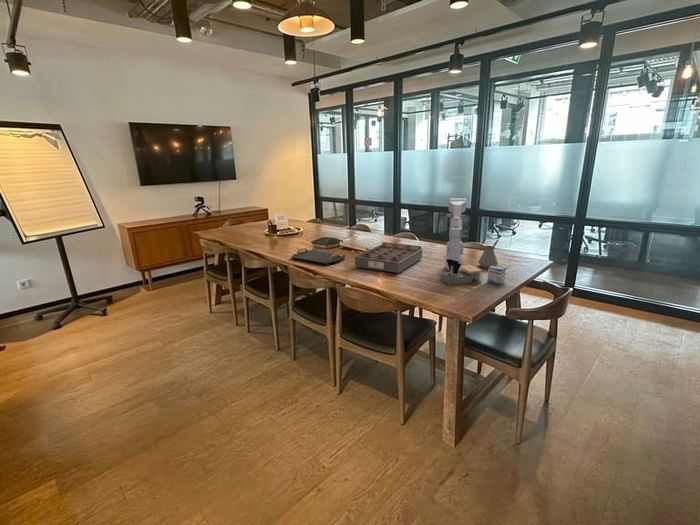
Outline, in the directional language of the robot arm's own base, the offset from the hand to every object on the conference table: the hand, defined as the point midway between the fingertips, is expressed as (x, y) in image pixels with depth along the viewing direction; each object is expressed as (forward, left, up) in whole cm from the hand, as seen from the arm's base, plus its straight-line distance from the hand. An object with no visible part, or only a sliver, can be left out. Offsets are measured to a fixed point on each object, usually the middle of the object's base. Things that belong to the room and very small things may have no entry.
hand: (453, 272), depth 197 cm
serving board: (-73, -65, -6) cm, 98 cm away
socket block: (0, +2, -5) cm, 5 cm away
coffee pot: (-21, +39, -5) cm, 45 cm away
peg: (0, 0, -4) cm, 4 cm away
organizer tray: (-45, -21, -5) cm, 50 cm away
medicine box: (+9, +21, -5) cm, 23 cm away
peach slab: (0, +10, -5) cm, 11 cm away
